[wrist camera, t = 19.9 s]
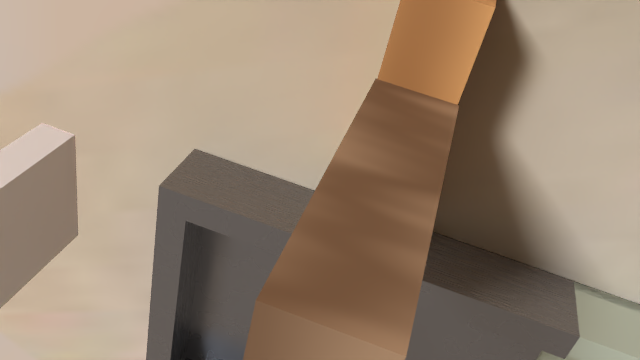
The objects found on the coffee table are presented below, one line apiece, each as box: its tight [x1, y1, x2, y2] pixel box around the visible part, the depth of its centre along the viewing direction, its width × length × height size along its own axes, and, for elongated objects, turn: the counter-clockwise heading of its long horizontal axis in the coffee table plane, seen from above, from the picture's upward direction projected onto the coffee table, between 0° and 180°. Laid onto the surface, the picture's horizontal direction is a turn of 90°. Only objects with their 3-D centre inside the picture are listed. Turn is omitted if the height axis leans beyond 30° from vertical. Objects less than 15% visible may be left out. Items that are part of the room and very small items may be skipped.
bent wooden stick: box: [243, 0, 496, 360], centre depth 16 cm, size 3×9×13 cm, turn 168°
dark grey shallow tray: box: [146, 149, 580, 360], centre depth 27 cm, size 16×13×3 cm
